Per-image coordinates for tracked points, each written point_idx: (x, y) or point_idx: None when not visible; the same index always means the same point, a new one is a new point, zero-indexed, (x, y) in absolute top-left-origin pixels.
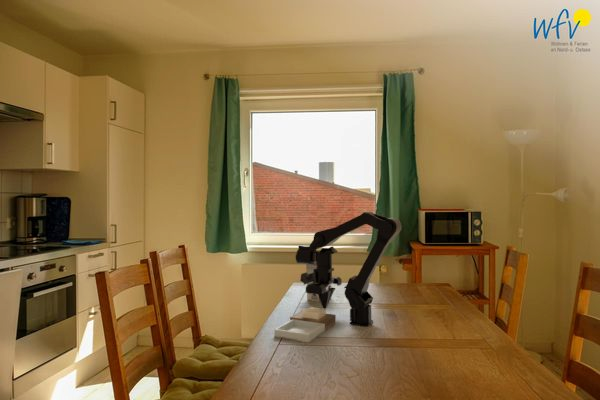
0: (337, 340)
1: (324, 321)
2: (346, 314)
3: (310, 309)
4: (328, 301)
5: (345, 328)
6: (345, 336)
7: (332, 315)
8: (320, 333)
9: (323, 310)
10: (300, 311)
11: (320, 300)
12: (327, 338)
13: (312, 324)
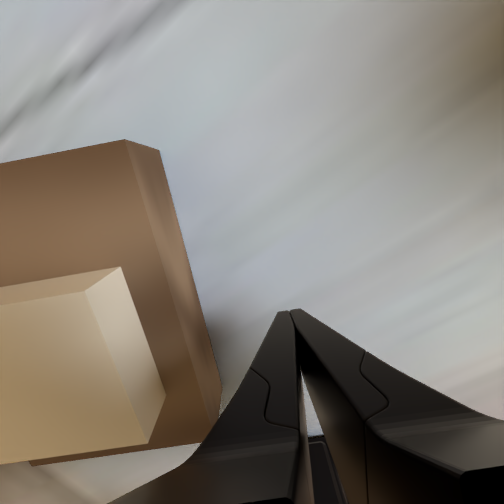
0: (26, 499)
1: (36, 461)
2: (429, 346)
3: (19, 345)
4: (319, 416)
5: (185, 455)
6: (92, 499)
7: (186, 434)
8: None
9: (97, 450)
10: (82, 148)
11: (251, 365)
12: (7, 463)
13: None
